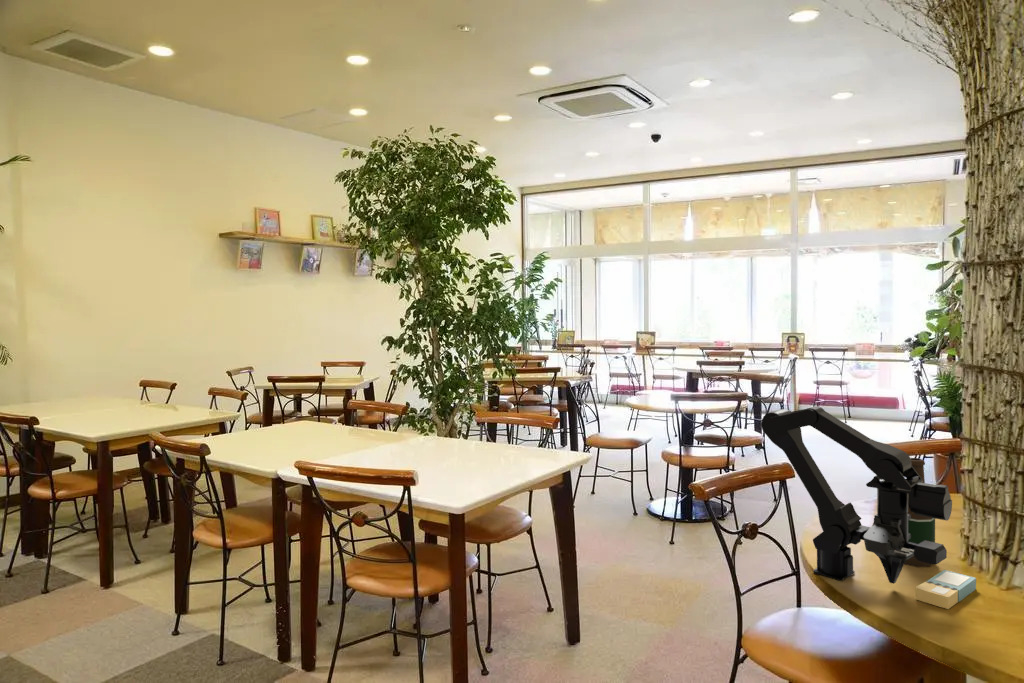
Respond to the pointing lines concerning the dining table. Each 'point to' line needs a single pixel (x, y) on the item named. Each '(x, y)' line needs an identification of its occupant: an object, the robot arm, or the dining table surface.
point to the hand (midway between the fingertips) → (892, 582)
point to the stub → (936, 595)
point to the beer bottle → (919, 521)
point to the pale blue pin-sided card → (955, 582)
